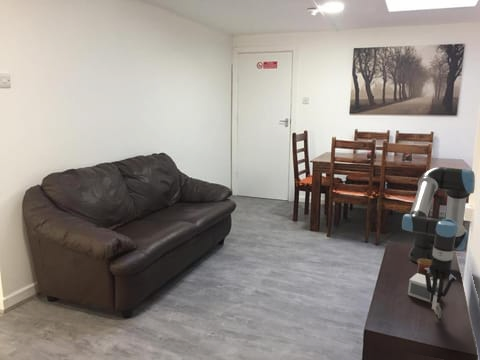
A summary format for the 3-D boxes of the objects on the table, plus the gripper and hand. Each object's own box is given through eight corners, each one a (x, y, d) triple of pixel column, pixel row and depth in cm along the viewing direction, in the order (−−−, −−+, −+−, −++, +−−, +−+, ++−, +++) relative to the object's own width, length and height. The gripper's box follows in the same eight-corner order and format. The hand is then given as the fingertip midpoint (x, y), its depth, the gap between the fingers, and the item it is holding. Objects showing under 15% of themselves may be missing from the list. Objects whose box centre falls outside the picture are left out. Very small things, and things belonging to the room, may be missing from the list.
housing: (415, 287, 199) (417, 271, 197) (441, 296, 191) (443, 279, 189) (407, 294, 192) (409, 277, 190) (434, 303, 183) (436, 286, 182)
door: (436, 321, 169) (438, 305, 167) (429, 302, 184) (431, 287, 183) (440, 321, 168) (442, 305, 167) (432, 302, 184) (434, 287, 182)
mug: (413, 275, 213) (415, 257, 211) (430, 277, 211) (433, 259, 209) (418, 285, 201) (420, 267, 199) (437, 287, 200) (439, 268, 197)
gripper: (422, 255, 168) (415, 305, 173) (456, 265, 159) (447, 317, 165) (428, 250, 173) (422, 299, 178) (461, 259, 165) (453, 310, 170)
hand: (434, 308), depth 171 cm, fingers closed
